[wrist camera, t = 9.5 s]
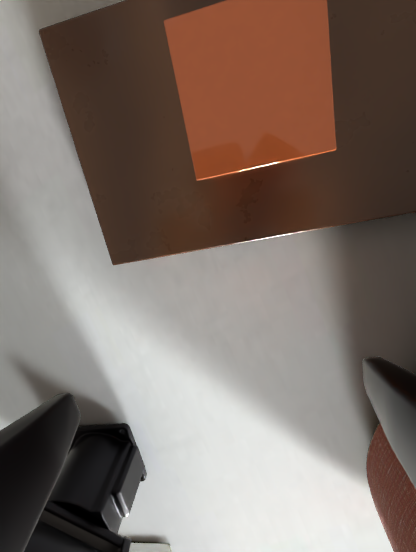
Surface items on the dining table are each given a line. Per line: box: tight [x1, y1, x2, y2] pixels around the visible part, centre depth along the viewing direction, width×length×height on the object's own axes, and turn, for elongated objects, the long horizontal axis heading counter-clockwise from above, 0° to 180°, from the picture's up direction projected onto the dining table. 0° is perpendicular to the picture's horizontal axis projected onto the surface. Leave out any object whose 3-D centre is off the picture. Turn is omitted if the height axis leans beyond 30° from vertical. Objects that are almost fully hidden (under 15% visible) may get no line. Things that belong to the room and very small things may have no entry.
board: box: [39, 0, 416, 265], centre depth 16 cm, size 20×13×2 cm, turn 101°
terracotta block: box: [164, 0, 336, 181], centre depth 12 cm, size 5×5×6 cm
